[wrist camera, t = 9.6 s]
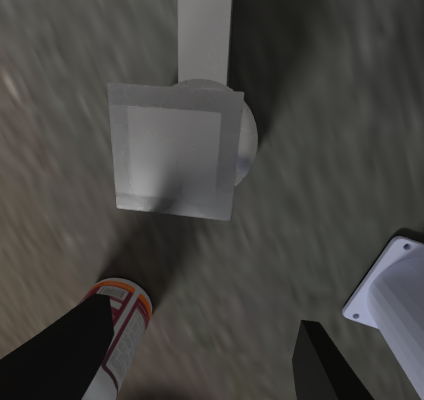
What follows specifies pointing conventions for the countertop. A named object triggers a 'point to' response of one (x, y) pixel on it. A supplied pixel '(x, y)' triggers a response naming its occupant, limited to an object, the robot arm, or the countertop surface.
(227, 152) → the grey block
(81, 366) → the robot arm
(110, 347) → the pill bottle
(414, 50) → the countertop surface
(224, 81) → the ratchet
